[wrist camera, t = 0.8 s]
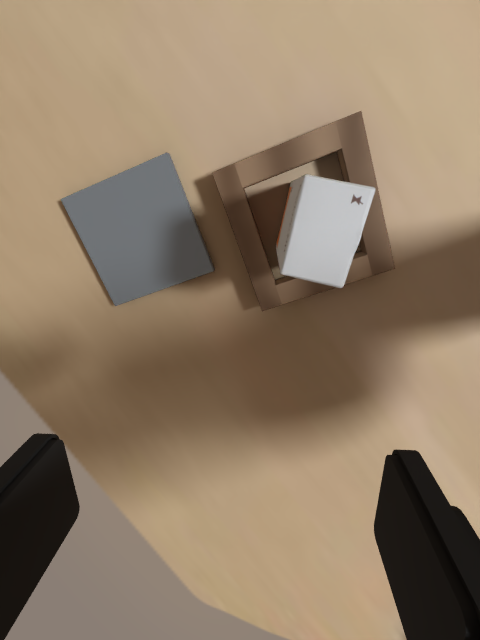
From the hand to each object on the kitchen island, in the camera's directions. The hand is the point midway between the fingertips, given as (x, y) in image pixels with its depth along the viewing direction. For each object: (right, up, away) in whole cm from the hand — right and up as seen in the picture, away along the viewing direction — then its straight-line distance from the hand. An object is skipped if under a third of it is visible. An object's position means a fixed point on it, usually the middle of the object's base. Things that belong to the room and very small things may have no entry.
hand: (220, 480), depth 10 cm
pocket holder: (+6, +14, +21) cm, 26 cm away
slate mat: (-9, +13, +22) cm, 27 cm away
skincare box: (+6, +14, +21) cm, 26 cm away
